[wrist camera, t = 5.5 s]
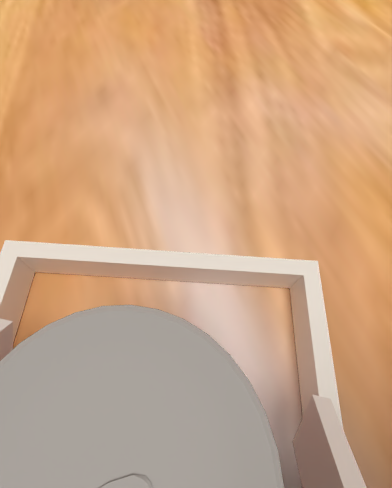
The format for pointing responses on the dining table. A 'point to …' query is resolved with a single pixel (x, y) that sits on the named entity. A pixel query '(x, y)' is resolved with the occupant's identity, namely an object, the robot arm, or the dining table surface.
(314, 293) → the corral
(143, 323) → the canned food
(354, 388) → the dining table surface
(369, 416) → the dining table surface
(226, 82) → the dining table surface
